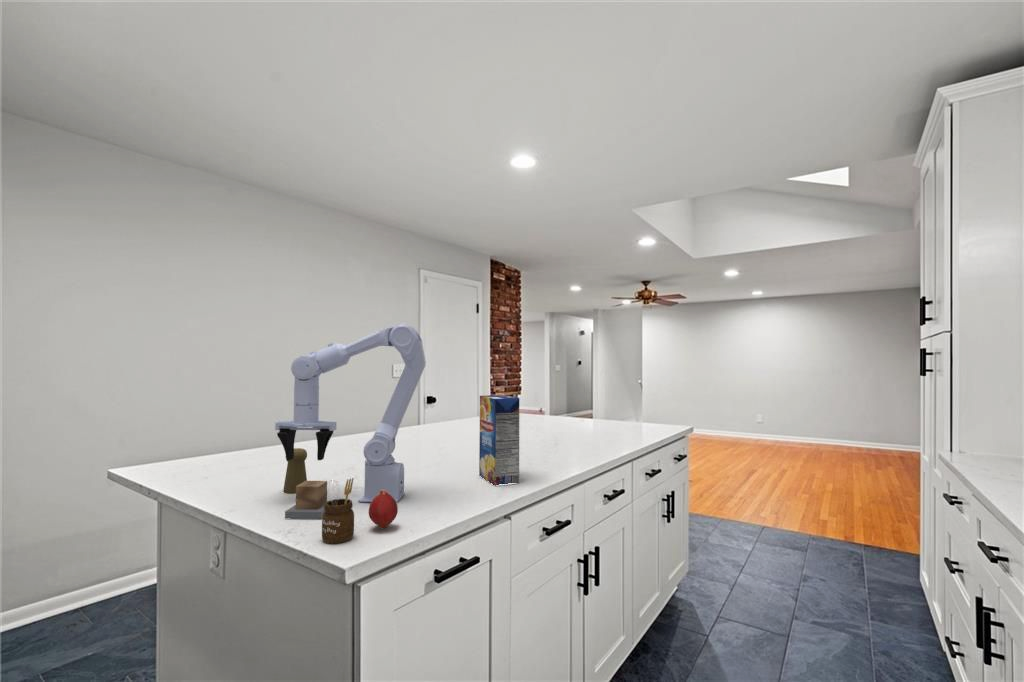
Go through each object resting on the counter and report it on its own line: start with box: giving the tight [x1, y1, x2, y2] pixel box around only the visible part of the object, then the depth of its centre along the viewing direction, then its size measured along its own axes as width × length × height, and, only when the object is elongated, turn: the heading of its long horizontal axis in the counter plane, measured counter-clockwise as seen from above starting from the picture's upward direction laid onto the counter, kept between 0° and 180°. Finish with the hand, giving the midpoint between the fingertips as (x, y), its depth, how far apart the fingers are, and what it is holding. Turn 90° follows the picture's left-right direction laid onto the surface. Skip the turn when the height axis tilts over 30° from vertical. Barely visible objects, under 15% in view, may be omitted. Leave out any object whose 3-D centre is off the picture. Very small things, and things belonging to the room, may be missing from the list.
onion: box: [368, 490, 399, 529], centre depth 100 cm, size 6×6×8 cm
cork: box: [282, 447, 308, 495], centre depth 127 cm, size 6×6×11 cm
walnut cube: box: [295, 480, 328, 509], centre depth 109 cm, size 5×5×5 cm
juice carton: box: [478, 394, 520, 486], centre depth 140 cm, size 12×8×24 cm, turn 25°
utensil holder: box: [321, 477, 355, 545], centre depth 94 cm, size 6×6×12 cm
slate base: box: [284, 500, 329, 520], centre depth 109 cm, size 8×8×2 cm
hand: (305, 459), depth 120 cm, fingers open, 7 cm apart
